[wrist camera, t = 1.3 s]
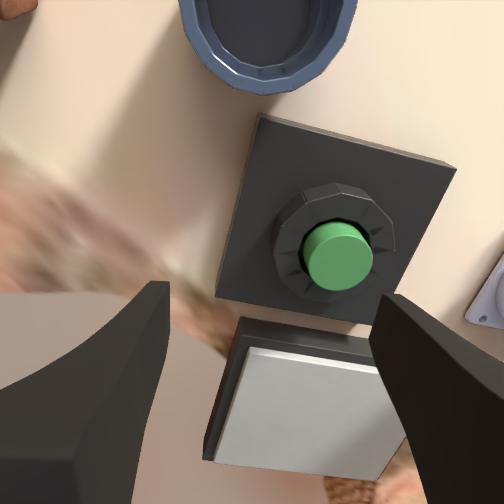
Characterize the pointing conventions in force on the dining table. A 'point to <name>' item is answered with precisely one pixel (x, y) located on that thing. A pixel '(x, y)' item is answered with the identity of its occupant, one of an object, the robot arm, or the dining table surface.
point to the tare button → (337, 256)
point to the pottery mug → (15, 8)
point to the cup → (267, 39)
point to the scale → (302, 404)
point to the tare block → (324, 216)
